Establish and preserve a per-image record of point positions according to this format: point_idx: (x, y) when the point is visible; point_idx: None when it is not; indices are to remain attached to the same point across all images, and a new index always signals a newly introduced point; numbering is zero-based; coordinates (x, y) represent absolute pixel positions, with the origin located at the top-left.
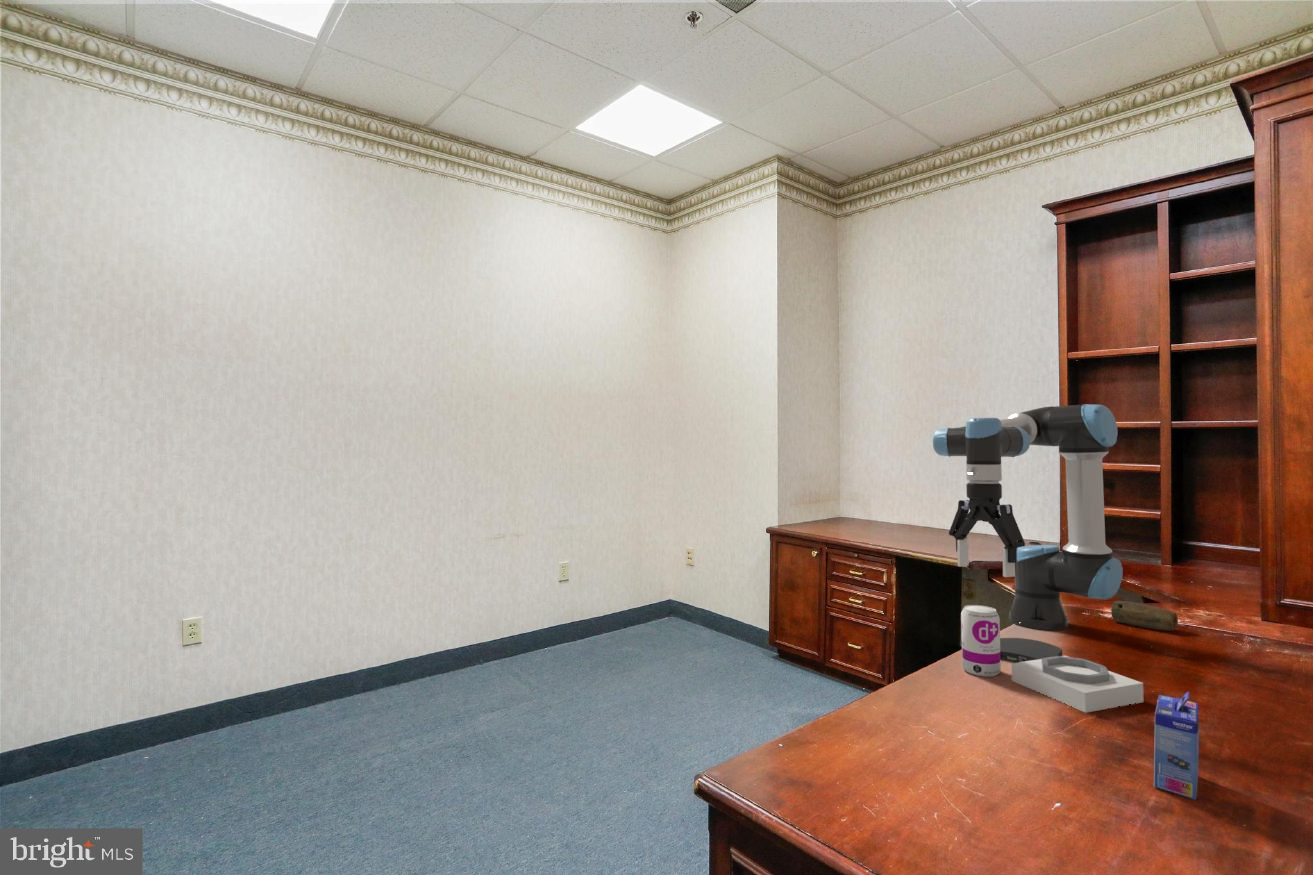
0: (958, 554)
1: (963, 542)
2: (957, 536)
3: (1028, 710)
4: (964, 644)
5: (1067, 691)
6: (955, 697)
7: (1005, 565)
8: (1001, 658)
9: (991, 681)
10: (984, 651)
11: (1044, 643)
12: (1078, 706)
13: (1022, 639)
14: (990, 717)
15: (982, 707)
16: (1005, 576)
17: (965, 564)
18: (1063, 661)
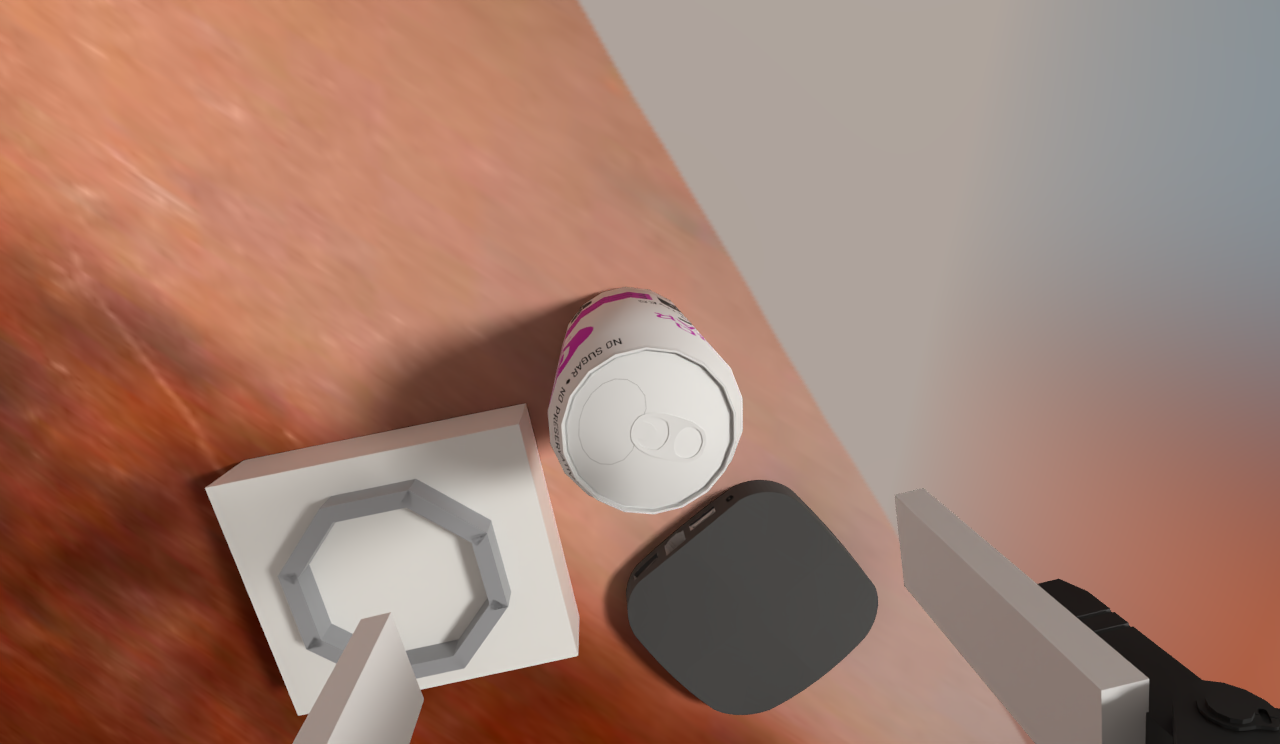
0: (981, 553)
1: (1071, 719)
2: (1205, 729)
3: (262, 294)
4: (635, 300)
5: (284, 466)
6: (385, 96)
7: (316, 703)
8: (728, 492)
9: (528, 328)
10: (562, 349)
11: (776, 691)
12: (261, 459)
13: (832, 647)
14: (198, 119)
15: (288, 145)
16: (361, 623)
17: (907, 561)
18: (487, 601)
